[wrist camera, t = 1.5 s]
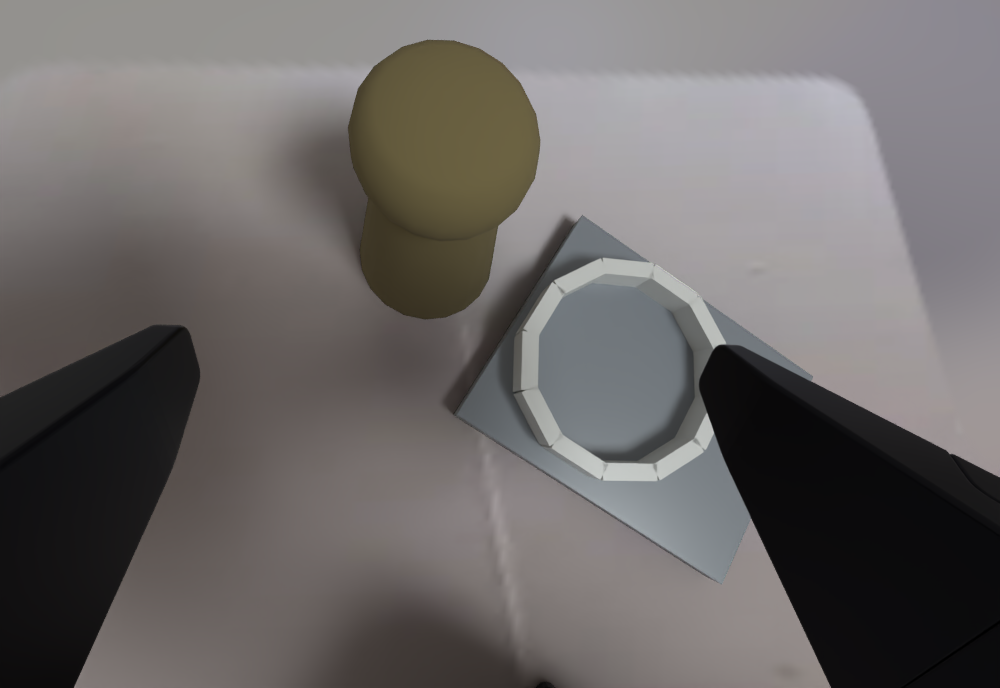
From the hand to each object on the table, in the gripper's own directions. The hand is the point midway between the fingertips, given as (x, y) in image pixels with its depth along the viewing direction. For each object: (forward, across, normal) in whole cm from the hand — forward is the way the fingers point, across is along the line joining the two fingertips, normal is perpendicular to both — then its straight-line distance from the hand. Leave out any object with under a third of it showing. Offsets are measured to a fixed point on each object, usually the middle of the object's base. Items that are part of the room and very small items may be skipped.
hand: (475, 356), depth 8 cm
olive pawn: (+14, 0, +5) cm, 15 cm away
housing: (+10, -10, +9) cm, 17 cm away
